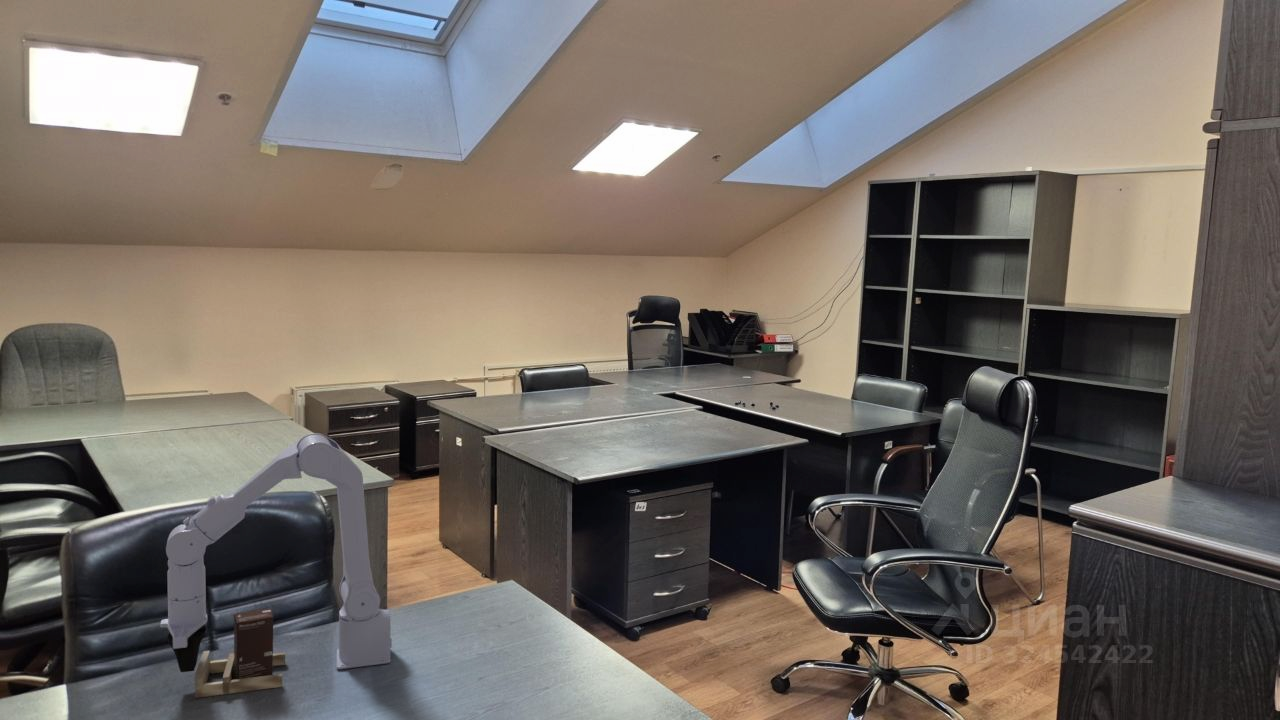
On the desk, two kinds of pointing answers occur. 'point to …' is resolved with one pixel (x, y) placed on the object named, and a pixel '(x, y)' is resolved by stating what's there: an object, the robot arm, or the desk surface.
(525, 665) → the desk surface
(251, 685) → the wooden slat rack
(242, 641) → the box
